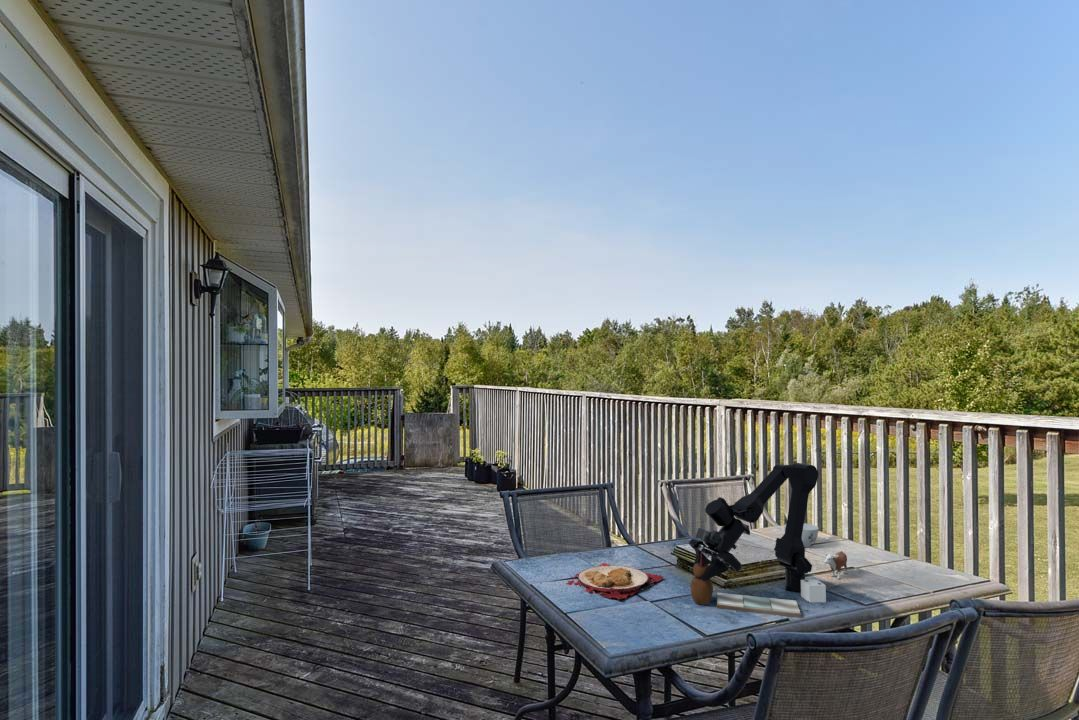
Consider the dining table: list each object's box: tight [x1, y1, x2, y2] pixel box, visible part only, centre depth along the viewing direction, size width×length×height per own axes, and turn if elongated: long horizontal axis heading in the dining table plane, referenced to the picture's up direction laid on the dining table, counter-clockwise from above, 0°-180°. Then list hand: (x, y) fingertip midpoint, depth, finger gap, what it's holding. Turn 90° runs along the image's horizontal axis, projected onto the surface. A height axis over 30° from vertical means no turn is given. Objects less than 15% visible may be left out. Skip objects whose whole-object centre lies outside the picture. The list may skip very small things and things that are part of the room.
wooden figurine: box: [690, 550, 714, 606], centre depth 169 cm, size 7×6×15 cm
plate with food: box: [565, 562, 665, 601], centre depth 187 cm, size 25×26×4 cm
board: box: [716, 592, 802, 618], centre depth 166 cm, size 10×22×1 cm, turn 73°
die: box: [800, 579, 827, 603], centre depth 172 cm, size 5×5×5 cm
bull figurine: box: [823, 550, 848, 580], centre depth 192 cm, size 4×13×8 cm, turn 132°
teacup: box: [784, 522, 820, 548], centre depth 230 cm, size 15×12×8 cm
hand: (697, 577), depth 168 cm, fingers closed on wooden figurine, 5 cm apart
